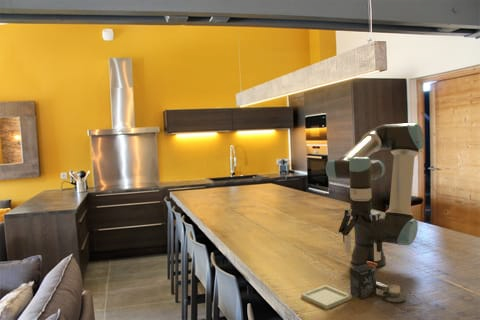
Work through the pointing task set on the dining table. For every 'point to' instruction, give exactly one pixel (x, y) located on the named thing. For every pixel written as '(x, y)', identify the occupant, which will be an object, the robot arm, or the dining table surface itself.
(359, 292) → the box
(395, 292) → the crank
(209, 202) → the dining table surface
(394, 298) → the crank base
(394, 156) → the robot arm
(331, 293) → the tray
